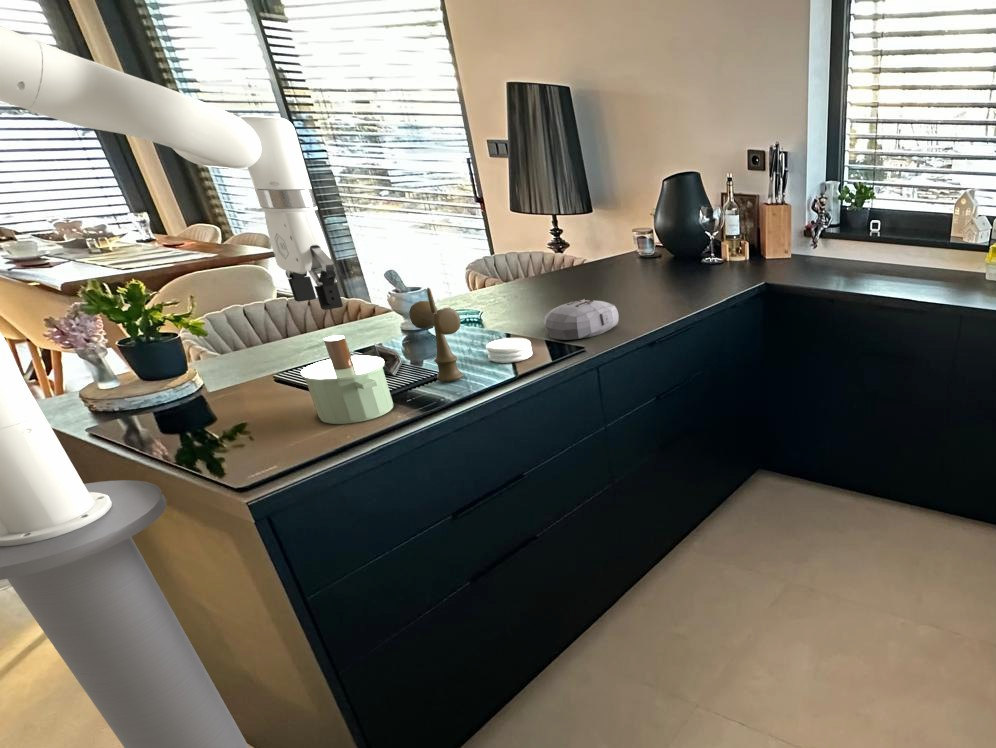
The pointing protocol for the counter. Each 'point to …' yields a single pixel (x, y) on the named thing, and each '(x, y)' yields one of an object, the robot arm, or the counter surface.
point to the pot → (351, 398)
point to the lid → (341, 363)
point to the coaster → (509, 350)
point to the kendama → (438, 334)
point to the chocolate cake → (386, 357)
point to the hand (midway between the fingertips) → (319, 304)
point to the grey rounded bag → (581, 319)
